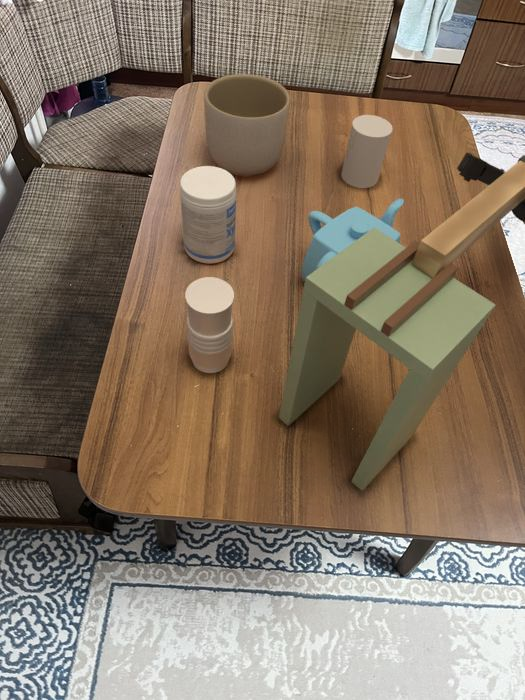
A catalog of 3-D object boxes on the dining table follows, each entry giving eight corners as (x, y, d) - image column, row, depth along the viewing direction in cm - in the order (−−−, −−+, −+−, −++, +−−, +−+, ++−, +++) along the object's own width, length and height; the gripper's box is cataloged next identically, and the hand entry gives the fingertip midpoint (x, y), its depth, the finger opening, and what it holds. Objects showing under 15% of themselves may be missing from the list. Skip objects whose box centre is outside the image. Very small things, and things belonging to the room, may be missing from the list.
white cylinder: (350, 161, 120) (362, 110, 111) (383, 174, 118) (398, 123, 109) (335, 179, 116) (345, 127, 106) (368, 192, 114) (383, 142, 104)
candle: (241, 359, 86) (245, 296, 74) (207, 383, 82) (206, 322, 70) (213, 333, 88) (213, 269, 76) (180, 355, 85) (174, 292, 73)
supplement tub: (238, 263, 98) (241, 197, 87) (187, 268, 97) (183, 202, 85) (229, 228, 104) (231, 162, 92) (180, 232, 102) (176, 166, 90)
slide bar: (533, 193, 67) (548, 167, 64) (434, 281, 57) (447, 255, 54) (510, 180, 69) (523, 154, 66) (408, 264, 58) (419, 238, 55)
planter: (290, 149, 121) (298, 83, 109) (272, 193, 111) (279, 126, 99) (218, 134, 123) (218, 67, 111) (194, 176, 113) (192, 108, 101)
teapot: (391, 322, 93) (414, 267, 82) (297, 311, 92) (309, 254, 82) (385, 250, 103) (405, 193, 93) (301, 241, 103) (312, 182, 93)
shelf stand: (411, 437, 79) (502, 294, 54) (362, 491, 74) (438, 360, 48) (329, 372, 85) (377, 216, 60) (278, 417, 80) (307, 266, 54)
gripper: (598, 262, 81) (587, 270, 63) (457, 183, 90) (415, 172, 73) (634, 217, 77) (634, 213, 60) (484, 140, 86) (447, 118, 69)
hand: (514, 191), depth 66 cm, fingers open, 13 cm apart
